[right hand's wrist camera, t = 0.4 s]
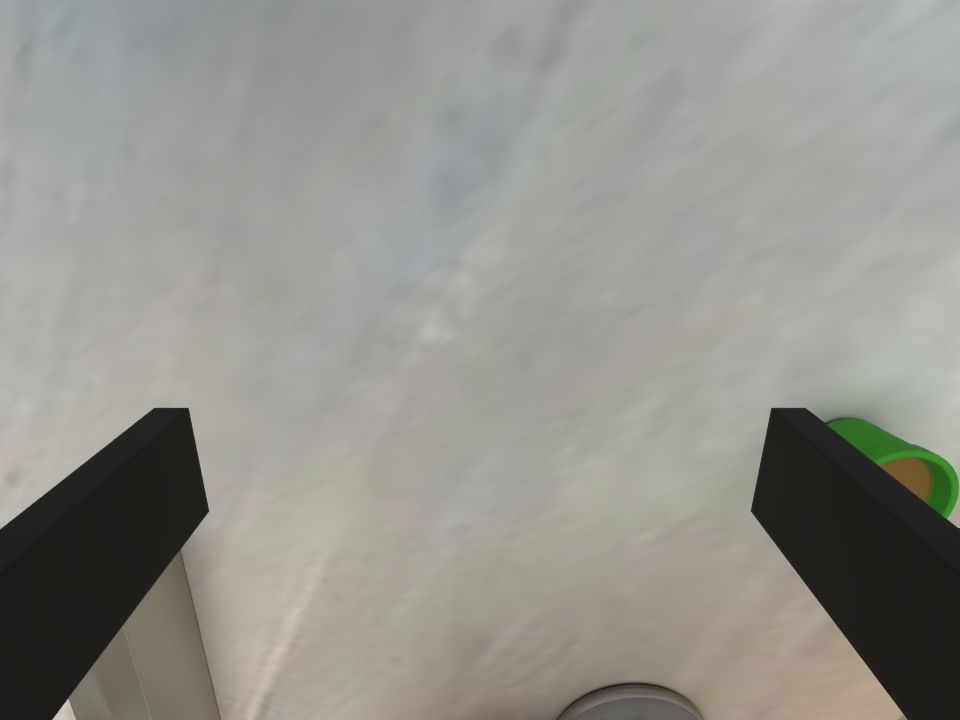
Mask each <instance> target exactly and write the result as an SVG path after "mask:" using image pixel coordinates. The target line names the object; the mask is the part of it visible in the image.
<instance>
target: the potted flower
mask: <svg viewBox="0 0 960 720" xmlns="http://www.w3.org/2000/svg"><path fill="white" fill-rule="evenodd" d="M827 425H828V426H829V427H830V428H832V429H833V430H834V431H835V432H837V433H838V434H839V435H840V436H842V437H843V438H844V439H846V440H847V441H848V442H849V443H851V444H852V445H853V446H854V447H856V448H857V449H858V450H860V451H861V452H862V453H863V454H865V455H866V456H867V457H868V458H870V459H871V460H872V461H873V462H875V463H876V464H877V465H879V466H880V467H881V468H882V469H884V470H885V471H886V472H887V473H889V474H890V475H891V476H893V477H894V478H895V479H896V480H898V481H899V482H900V483H901V484H903V485H904V486H905V487H906V488H908V489H909V490H910V491H912V492H913V493H914V494H915V495H917V496H918V497H919V498H920V499H922V500H923V501H924V502H926V503H927V504H928V505H929V506H931V507H932V508H933V509H934V510H936V511H937V512H938V513H939V514H941V515H942V516H943V517H945V518H946V519H947V518H948V516H949V515H950V514H951V512H952V510H953V508H954V506H955V504H956V500H957V497H958V489H959V483H958V478H957V475H956V473H955V471H954V469H953V467H952V466H951V465H950V464H949V463H948V462H947V461H946V460H945V459H943V458H942V457H940V456H939V455H937V454H935V453H933V452H931V451H929V450H927V449H925V448H922V447H919V446H917V445H912V444H909V443H907V442H905V441H903V440H901V439H899V438H897V437H895V436H894V435H892V434H890V433H888V432H886V431H884V430H882V429H880V428H878V427H876V426H874V425H872V424H871V423H869V422H866V421H863V420H860V419H841V420H836V421H833V422H831V423H828V424H827Z"/></svg>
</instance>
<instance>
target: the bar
mask: <svg viewBox="0 0 960 720" xmlns="http://www.w3.org/2000/svg"><path fill="white" fill-rule="evenodd" d="M68 699H69V701H70V704H71V707H72V709H73V712H74V715H75V718H76V720H220V716H219V712H218V707H217V703H216V699H215V695H214V691H213V686H212V682H211V678H210V674H209V670H208V665H207V661H206V657H205V653H204V649H203V644H202V640H201V636H200V632H199V628H198V624H197V619H196V615H195V611H194V607H193V603H192V598H191V594H190V590H189V586H188V582H187V577H186V573H185V569H184V565H183V561H182V556H181V552H180V551H179V552H178V553H177V555H176V556H175V557H174V559H173V560H172V561H171V563H170V564H169V565H168V566H167V568H166V569H165V570H164V572H163V573H162V574H161V576H160V577H159V578H158V580H157V581H156V582H155V584H154V585H153V586H152V588H151V589H150V590H149V592H148V593H147V594H146V596H145V597H144V598H143V600H142V601H141V602H140V604H139V605H138V606H137V608H136V609H135V610H134V612H133V613H132V614H131V616H130V617H129V618H128V620H127V621H126V622H125V624H124V625H123V626H122V628H121V629H120V630H119V632H118V633H117V634H116V636H115V637H114V638H113V640H112V641H111V642H110V644H109V645H108V646H107V648H106V649H105V650H104V651H103V653H102V654H101V655H100V657H99V658H98V659H97V661H96V662H95V663H94V665H93V666H92V667H91V669H90V670H89V671H88V673H87V674H86V675H85V677H84V678H83V679H82V681H81V682H80V683H79V685H78V686H77V687H76V689H75V690H74V691H73V693H72V694H71V695H70V697H69V698H68Z"/></svg>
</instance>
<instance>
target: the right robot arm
mask: <svg viewBox="0 0 960 720" xmlns="http://www.w3.org/2000/svg"><path fill="white" fill-rule="evenodd" d="M208 512H209V508H208V503H207V498H206V493H205V488H204V483H203V478H202V473H201V468H200V463H199V458H198V453H197V448H196V443H195V438H194V433H193V428H192V423H191V418H190V413H189V408H154V409H152V410H151V411H150V412H149V413H147V414H146V415H145V416H144V417H142V418H141V419H140V420H139V421H137V422H136V423H135V424H133V425H132V426H131V427H130V428H128V429H127V430H126V431H125V432H123V433H122V434H121V435H120V436H118V437H117V438H116V439H114V440H113V441H112V442H111V443H109V444H108V445H107V446H106V447H104V448H103V449H102V450H100V451H99V452H98V453H97V454H95V455H94V456H93V457H92V458H90V459H89V460H88V461H87V462H85V463H84V464H83V465H81V466H80V467H79V468H78V469H76V470H75V471H74V472H73V473H71V474H70V475H69V476H67V477H66V478H65V479H64V480H62V481H61V482H60V483H59V484H57V485H56V486H55V487H54V488H52V489H51V490H50V491H48V492H47V493H46V494H45V495H43V496H42V497H41V498H40V499H38V500H37V501H36V502H34V503H33V504H32V505H31V506H29V507H28V508H27V509H26V510H24V511H23V512H22V513H21V514H19V515H18V516H17V517H15V518H14V519H13V520H12V521H10V522H9V523H8V524H7V525H5V526H4V527H3V528H1V529H0V720H52V719H53V718H54V717H55V715H56V714H57V713H58V711H59V710H60V709H61V707H62V706H63V705H64V703H65V702H66V701H67V699H68V698H69V697H70V695H71V694H72V693H73V691H74V690H75V689H76V687H77V686H78V685H79V683H80V682H81V681H82V679H83V678H84V677H85V675H86V674H87V673H88V671H89V670H90V669H91V667H92V666H93V665H94V663H95V662H96V661H97V659H98V658H99V657H100V655H101V654H102V653H103V651H104V650H105V649H106V648H107V646H108V645H109V644H110V642H111V641H112V640H113V638H114V637H115V636H116V634H117V633H118V632H119V630H120V629H121V628H122V626H123V625H124V624H125V622H126V621H127V620H128V618H129V617H130V616H131V614H132V613H133V612H134V610H135V609H136V608H137V606H138V605H139V604H140V602H141V601H142V600H143V598H144V597H145V596H146V594H147V593H148V592H149V590H150V589H151V588H152V586H153V585H154V584H155V582H156V581H157V580H158V578H159V577H160V576H161V574H162V573H163V572H164V570H165V569H166V568H167V566H168V565H169V564H170V563H171V561H172V560H173V559H174V557H175V556H176V555H177V553H178V552H179V551H180V549H181V548H182V547H183V545H184V544H185V543H186V541H187V540H188V539H189V537H190V536H191V535H192V533H193V532H194V531H195V529H196V528H197V527H198V525H199V524H200V523H201V521H202V520H203V519H204V517H205V516H206V515H207V513H208ZM751 512H752V513H753V515H754V516H755V517H756V519H757V520H758V521H759V523H760V524H761V525H762V527H763V528H764V529H765V531H766V532H767V533H768V535H769V536H770V537H771V539H772V540H773V541H774V543H775V544H776V545H777V547H778V548H779V549H780V551H781V552H782V553H783V555H784V556H785V557H786V559H787V560H788V561H789V563H790V564H791V565H792V566H793V568H794V569H795V570H796V572H797V573H798V574H799V576H800V577H801V578H802V580H803V581H804V582H805V584H806V585H807V586H808V588H809V589H810V590H811V592H812V593H813V594H814V596H815V597H816V598H817V600H818V601H819V602H820V604H821V605H822V606H823V608H824V609H825V610H826V612H827V613H828V614H829V616H830V617H831V618H832V620H833V621H834V622H835V624H836V625H837V626H838V628H839V629H840V630H841V632H842V633H843V634H844V636H845V637H846V638H847V640H848V641H849V642H850V644H851V645H852V646H853V648H854V649H855V650H856V651H857V653H858V654H859V655H860V657H861V658H862V659H863V661H864V662H865V663H866V665H867V666H868V667H869V669H870V670H871V671H872V673H873V674H874V675H875V677H876V678H877V679H878V681H879V682H880V683H881V685H882V686H883V687H884V689H885V690H886V691H887V693H888V694H889V695H890V697H891V698H892V699H893V701H894V702H895V703H896V705H897V706H898V707H899V709H900V710H901V711H902V713H903V714H904V715H905V717H906V718H907V719H908V720H960V528H957V527H956V526H955V525H953V524H952V523H951V522H950V521H948V520H947V519H946V518H945V517H943V516H942V515H941V514H939V513H938V512H937V511H936V510H934V509H933V508H932V507H931V506H929V505H928V504H927V503H926V502H924V501H923V500H922V499H920V498H919V497H918V496H917V495H915V494H914V493H913V492H912V491H910V490H909V489H908V488H906V487H905V486H904V485H903V484H901V483H900V482H899V481H898V480H896V479H895V478H894V477H893V476H891V475H890V474H889V473H887V472H886V471H885V470H884V469H882V468H881V467H880V466H879V465H877V464H876V463H875V462H873V461H872V460H871V459H870V458H868V457H867V456H866V455H865V454H863V453H862V452H861V451H860V450H858V449H857V448H856V447H854V446H853V445H852V444H851V443H849V442H848V441H847V440H846V439H844V438H843V437H842V436H840V435H839V434H838V433H837V432H835V431H834V430H833V429H832V428H830V427H829V426H828V425H827V424H825V423H824V422H823V421H821V420H820V419H819V418H818V417H816V416H815V415H814V414H813V413H811V412H810V411H809V410H807V409H806V408H771V413H770V418H769V423H768V428H767V433H766V438H765V443H764V448H763V453H762V458H761V463H760V468H759V473H758V478H757V483H756V488H755V493H754V498H753V503H752V508H751ZM558 720H703V718H702V716H701V714H700V713H699V711H698V710H697V709H696V707H695V706H694V705H693V704H692V703H691V702H689V701H688V700H687V699H685V698H684V697H682V696H680V695H679V694H677V693H674V692H672V691H670V690H667V689H663V688H660V687H655V686H649V685H622V686H615V687H610V688H606V689H602V690H599V691H597V692H594V693H592V694H589V695H587V696H585V697H583V698H582V699H580V700H578V701H577V702H575V703H574V704H573V705H571V706H570V707H569V708H568V709H567V710H566V711H565V712H564V713H563V714H562V715H561V716H560V718H559V719H558Z"/></svg>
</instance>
